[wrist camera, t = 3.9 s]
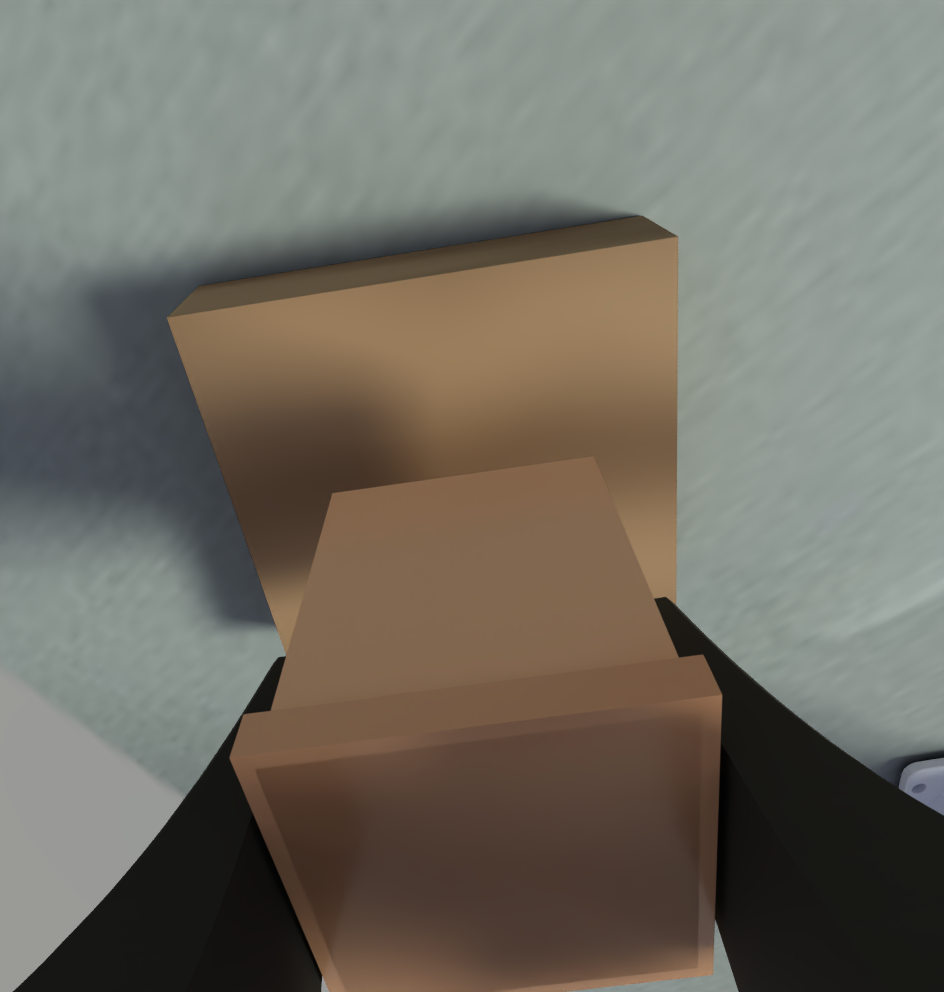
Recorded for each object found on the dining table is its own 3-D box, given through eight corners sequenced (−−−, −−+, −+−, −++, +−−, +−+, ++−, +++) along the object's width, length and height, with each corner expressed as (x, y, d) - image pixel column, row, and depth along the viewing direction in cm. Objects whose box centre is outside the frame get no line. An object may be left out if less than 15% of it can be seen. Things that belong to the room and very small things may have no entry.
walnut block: (648, 575, 21) (675, 631, 19) (310, 628, 21) (298, 690, 19) (642, 215, 16) (678, 236, 14) (198, 285, 16) (166, 317, 14)
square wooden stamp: (617, 664, 15) (712, 974, 10) (376, 696, 15) (339, 1017, 10) (604, 444, 12) (722, 695, 7) (318, 485, 13) (228, 757, 7)
